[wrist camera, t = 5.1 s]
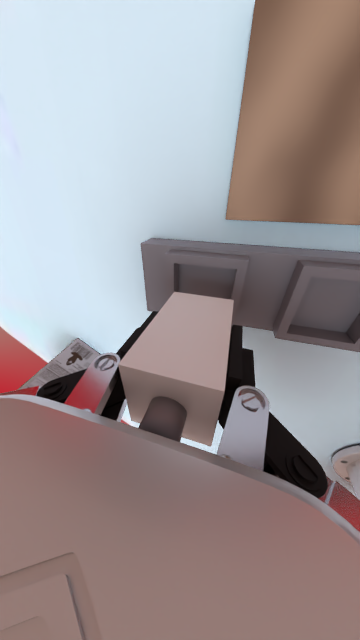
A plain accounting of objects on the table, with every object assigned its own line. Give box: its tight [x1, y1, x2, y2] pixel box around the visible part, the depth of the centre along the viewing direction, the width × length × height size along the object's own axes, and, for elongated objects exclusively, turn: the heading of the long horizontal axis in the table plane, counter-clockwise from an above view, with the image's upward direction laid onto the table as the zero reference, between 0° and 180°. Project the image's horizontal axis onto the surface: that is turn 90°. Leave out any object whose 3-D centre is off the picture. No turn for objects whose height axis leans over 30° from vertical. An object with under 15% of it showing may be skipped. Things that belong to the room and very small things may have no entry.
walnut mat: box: [226, 0, 360, 225], centre depth 11 cm, size 12×10×1 cm
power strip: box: [141, 238, 360, 352], centre depth 16 cm, size 22×7×4 cm, turn 90°
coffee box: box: [18, 338, 101, 390], centre depth 27 cm, size 9×6×16 cm
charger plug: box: [118, 292, 234, 446], centre depth 10 cm, size 4×4×8 cm
